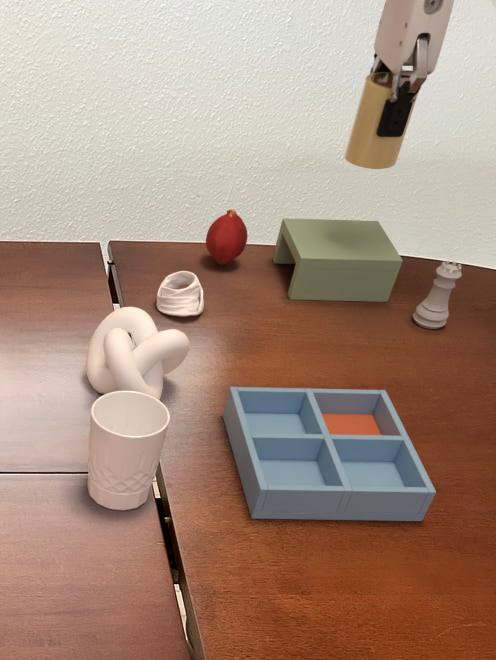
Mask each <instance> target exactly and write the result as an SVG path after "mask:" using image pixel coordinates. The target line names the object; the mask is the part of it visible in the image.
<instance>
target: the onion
mask: <svg viewBox="0 0 496 660" xmlns="http://www.w3.org/2000/svg"><path fill="white" fill-rule="evenodd" d="M247 243H248V230H247V226H246V224H245V222H244V220H243V218H242V217H240V215H239V214H238V213H237V212H236V210H235V209H234V208H229V209H227V210H226V213H225V214H223V215H220V216H219V217H217V218H216V219H215V220H214V221H213V222H212V223H211V225H210V226H209V227H208V230H207V233H206V237H205V246H206V250H207V251H208V253H209V255H210V256H211V257H212V258H213V259H214V260H215V261H216V263H217V264H218V265H222V266H224V265H226V264H227V263H230V262H232V261H234V260H235V259H237V258H238V257H239V256H241V254H242V253H243V252H244V251H245V248H246V246H247Z"/></svg>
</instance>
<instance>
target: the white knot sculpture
mask: <svg viewBox="0 0 496 660" xmlns="http://www.w3.org/2000/svg"><path fill="white" fill-rule="evenodd" d="M131 336H132V337H131ZM132 339H133V340H132ZM133 341H134V343H133ZM189 351H190V340H189V338H188V337H187V335H186V333H185V332H183V331H181V330H179V329H177V328H170V329H169V328H168V329H165V330H160V331H159V330H158V328H157V325H156V323H155V321H154V319H153V318H152V316H151V315H150V314H149V313H148V312H147V311H145V310H144V309H142V308H140V307H135V306H123V307H120V308H117V309H115V310H113V311H111V313H109V314H108V315H107V316H106V317H104V318H103V320H102V321H100V323H99V325H98V326H97V328H96V329H95V331H94V333H93V334H92V336H91V339H90V342H89V344H88V347H87V351H86V355H85V371H86V372H85V373H86V376H87V380H88V381H89V383H90V385H91V386H92V388H93V389H94V390H95V391H96V392H98V393H100V394H103V395H105V394H107V393H111V392H115V391H136V392H141V393H145V394H148V395H150V396H152V397H154V398H156V399H158V400H159V401H161V397H162V394H163V387H164V376H166V375H168V374H170V373H171V372H173V371H174V370H176V369H177V368H178V367H179V366H180V365H182V363H183V362H184V360H185V359H186V357H187V356H188V353H189Z"/></svg>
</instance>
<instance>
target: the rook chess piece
mask: <svg viewBox="0 0 496 660" xmlns="http://www.w3.org/2000/svg"><path fill="white" fill-rule="evenodd" d="M450 263H451V261H450V260H445V261H442V263H441V265H440V266H438V267H437V268H436V269H435V272H436V275H437V276H436V278H434V279H433V284H432V287H431V289H430V291H429V293H428V294H427V296H426V298H425V299H423V300H422V301H421V303H419V304H418V305H417V306H416V308H415V311H414V313H413V314H412V318H413V321H414V322H415V324H416V325H417V326H420V327H421V328H423V329H424V328H425V329H430V330H437V329H440V328H442V327H444V326H445V325H446V324H447V319H448V318H449V316H450V313H449V311H450V310H449V300H450V296H451V293H452V290H453V289H454V288H455V287H456V283H455V282H456V281H457V280H458V279H460V278H461V277H462V275H463V274H462V264H460V263H458V262H457V261H454V260H453V261H452V263H451V264H450ZM457 263H458V264H457Z"/></svg>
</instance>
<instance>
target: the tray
mask: <svg viewBox="0 0 496 660" xmlns="http://www.w3.org/2000/svg"><path fill="white" fill-rule="evenodd" d="M222 419H223V421H224V426H225V429H226V433H227V436H228V439H229V444H230V447H231V450H232V454H233V458H234V462H235V464H236V469H237V472H238V476H239V478H240V479H239V480H240V482H241V487H242V489H243V490H242V491H243V493H244V498H245V500H246V504H247V507H248V511H249V515H250V518H251V519H253V520H254V519H255V520H257V519H259V520H316V521H318V520H320V521H321V520H322V521H324V520H325V521H381V522H382V521H384V522H385V521H386V522H387V521H388V522H422V521H423V520H424V519H425V516H426V514H427V512H428V509H429V508H430V506H431V504H432V502H433V500H434V498H435V496H436V494H437V491H436V488H435V486H434V485H433V482H432V480H431V478H430V477H429V475H428V473H427V471H426V469H425V466H424V464H423V463H422V460H421V459H420V456H419V454H418V452H417V451H416V448H415V447H414V444H413V443H412V442H413V441H412V440H411V439H410V436H409V435H408V432H407V430H406V428H405V426H404V424H403V422H402V421H401V418H400V415H399V414H398V412H397V410H396V408H395V407H394V405H393V402H392V400H391V397H390V396H389V394H388V392H387V391H386V389H359V388H358V389H355V388H353V389H351V388H311V387H309V388H307V387H262V386H261V387H260V386H259V387H257V386H230V387H229V388H228V392H227V396H226V401H225V405H224V409H223V412H222Z"/></svg>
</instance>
